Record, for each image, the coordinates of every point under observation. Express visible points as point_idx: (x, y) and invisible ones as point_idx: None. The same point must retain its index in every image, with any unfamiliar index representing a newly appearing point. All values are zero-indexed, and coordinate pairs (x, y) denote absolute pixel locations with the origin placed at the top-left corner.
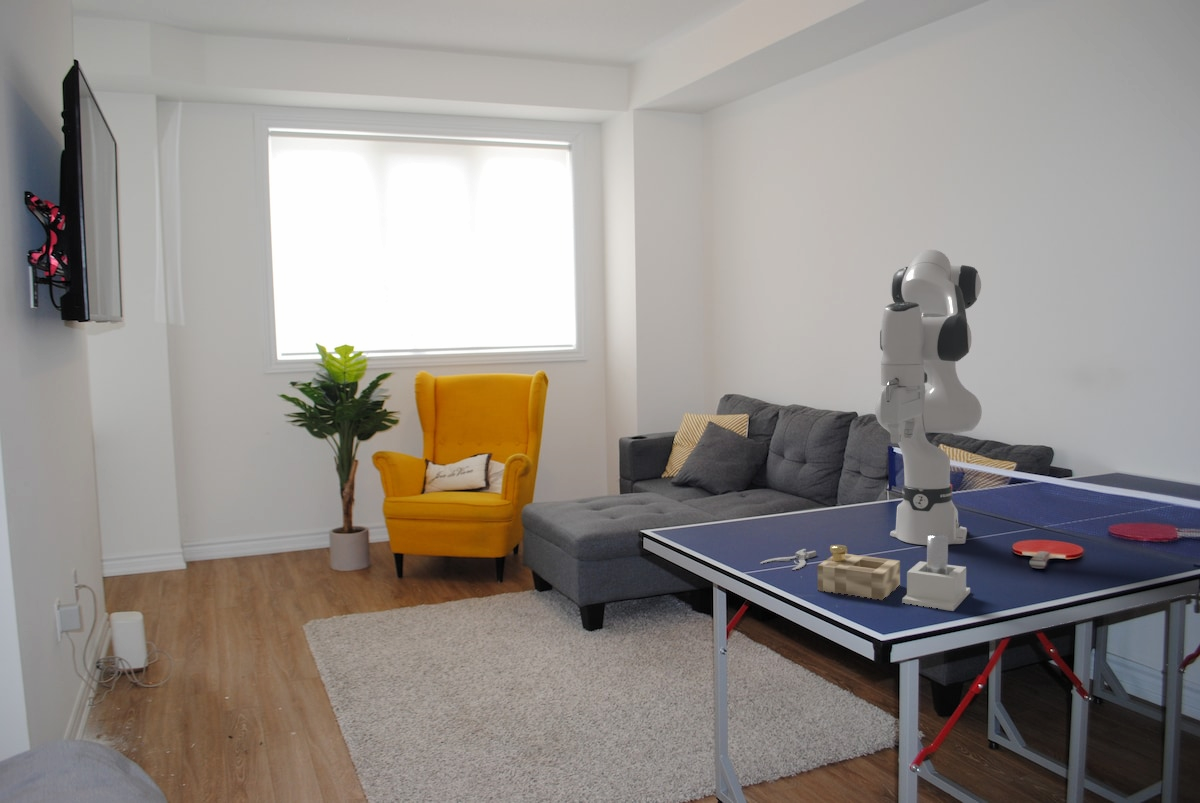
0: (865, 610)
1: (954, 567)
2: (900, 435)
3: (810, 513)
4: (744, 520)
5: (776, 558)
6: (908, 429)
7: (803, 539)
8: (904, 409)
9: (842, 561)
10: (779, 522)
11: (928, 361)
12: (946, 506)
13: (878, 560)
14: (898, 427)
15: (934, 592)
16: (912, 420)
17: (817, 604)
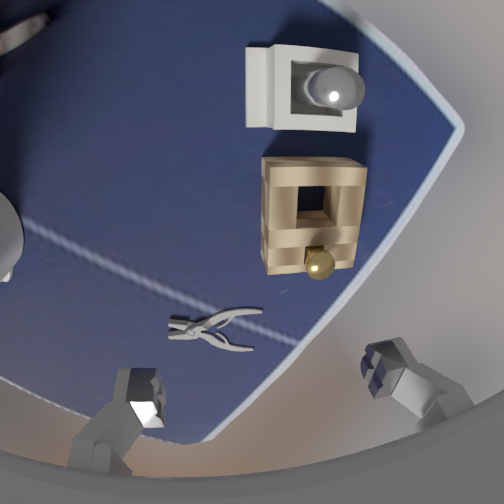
0: (395, 166)
1: (289, 62)
2: (391, 367)
3: (13, 379)
4: (90, 417)
5: (221, 346)
6: (135, 417)
7: (107, 356)
8: (479, 482)
9: (317, 247)
10: (67, 394)
11: None
12: None
13: (286, 200)
14: (458, 388)
15: None
16: (114, 457)
17: (391, 225)
